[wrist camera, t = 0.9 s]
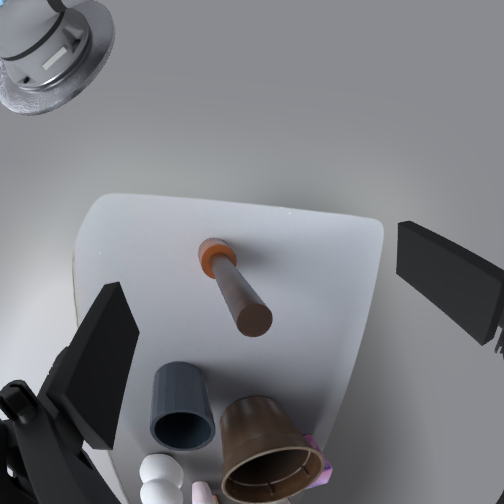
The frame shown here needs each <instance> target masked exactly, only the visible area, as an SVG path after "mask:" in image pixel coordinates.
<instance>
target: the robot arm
mask: <svg viewBox="0 0 504 504" xmlns="http://www.w3.org/2000/svg"><path fill="white" fill-rule="evenodd" d="M85 1H87V0H0V57H1V58H2V59H3V61H4V64H5V67H6V69H7V72H8V75H9V77H10V79H11V80H12V82H13V83H15V84H16V85H17V86H19V87H20V88H22V89H25V90H38V89H42V88H45V87H47V86H49V85H51V84H53V83H55V82H56V81H58V80H59V79H61V78H62V77H63V76H65V75H66V74H67V73H68V72H69V71H70V70H71V69H72V68H73V67H74V66H75V65H76V64H77V63H78V61H79V60H80V59H81V57H82V56H83V54H84V52H85V50H86V48H87V46H88V43H89V40H90V26H89V24H88V22H87V20H86V18H85V16H84V15H83V14H82V13H80V12H79V11H77V10H75V9H74V8H72V7H73V6H75V5H78V4H80V3H82V2H85ZM397 248H398V249H397V268H396V274H397V275H399V276H400V277H401V278H402V279H404V280H405V281H406V282H408V283H409V284H410V285H411V286H413V287H414V288H415V289H416V290H418V291H419V292H420V293H421V294H423V295H424V296H425V297H426V298H427V299H429V300H430V301H431V302H432V303H433V304H435V305H436V306H437V307H438V308H439V309H441V310H442V311H443V312H444V313H445V314H447V315H448V316H449V317H450V318H451V319H452V320H454V321H455V322H456V323H457V324H458V325H459V326H460V327H462V328H463V329H464V330H465V331H466V332H467V333H468V334H469V335H471V336H472V337H473V338H474V339H475V340H476V341H477V342H478V343H479V344H480V345H481V346H483V345H484V344H486V343H487V342H489V341H490V340H492V339H493V338H494V335H495V332H496V329H497V327H498V326H500V327H501V328H502V332H501V334H500V337H499V340H498V343H497V345H496V347H495V353H497V351H498V349H499V347H501V346H502V348H501V351H500V353H502V354H503V358H504V270H502V269H501V268H499V267H497V266H496V265H494V264H492V263H490V262H489V261H487V260H485V259H483V258H482V257H480V256H478V255H476V254H474V253H472V252H471V251H469V250H467V249H465V248H463V247H462V246H460V245H458V244H456V243H454V242H452V241H450V240H448V239H446V238H444V237H442V236H440V235H438V234H436V233H434V232H432V231H430V230H428V229H426V228H424V227H422V226H420V225H418V224H416V223H414V222H412V221H405V222H400V223H398V246H397ZM139 333H140V332H139V330H138V327H137V325H136V323H135V320H134V318H133V315H132V313H131V311H130V308H129V306H128V303H127V301H126V298H125V296H124V293H123V290H122V288H121V285H120V282H115V283H110V284H105V285H104V286H103V288H102V289H101V291H100V293H99V294H98V296H97V298H96V299H95V301H94V303H93V304H92V306H91V308H90V309H89V311H88V313H87V314H86V316H85V318H84V320H83V321H82V323H81V325H80V327H79V328H78V330H77V332H76V334H75V336H74V338H73V340H72V341H71V343H70V345H69V347H65V348H64V349H63V350H62V351H61V353H60V354H59V355H58V356H57V358H56V359H55V361H54V363H53V367H51V369H50V371H49V375H47V377H46V379H45V381H44V383H43V385H42V387H41V389H40V391H39V393H38V395H37V397H36V396H35V394H34V393H33V392H32V390H31V389H30V388H29V386H28V385H27V384H26V382H25V381H23V380H14V381H12V382H10V383H8V384H7V385H6V386H4V387H3V389H2V390H1V391H0V409H1V410H2V411H3V412H4V414H5V415H6V416H7V417H8V418H9V419H8V420H3V421H2V420H1V419H0V504H121V503H120V501H119V500H118V499H117V498H116V496H115V495H114V493H113V492H112V491H111V489H110V488H109V486H108V485H107V484H106V482H105V481H104V479H103V478H102V476H101V475H100V473H99V472H98V470H97V469H96V467H95V466H94V464H93V463H92V461H91V459H90V458H89V456H88V454H87V453H86V452H85V451H84V450H83V449H82V445H83V441H84V440H85V441H86V442H87V443H88V444H89V445H90V446H91V447H92V448H93V449H99V450H113V445H114V440H115V434H116V429H117V424H118V419H119V414H120V409H121V405H122V400H123V396H124V391H125V387H126V383H127V379H128V374H129V370H130V366H131V363H132V359H133V355H134V351H135V347H136V344H137V340H138V336H139ZM7 467H8V468H10V469H11V470H12V471H13V477H11V476H10V475H9V474H8V472H7ZM496 504H504V491H503V493H502V495H501V496H500V498H499V500H498V501H497V503H496Z"/></svg>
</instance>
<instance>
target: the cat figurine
mask: <svg viewBox="0 0 504 504" xmlns="http://www.w3.org/2000/svg"><path fill="white" fill-rule="evenodd" d="M183 476H184V474H183V470H182V468H181V466H180V465H179V464H178V463H177V462H176V461H175V460H174V459H173V458H172V457H171V456H168V455H166V454H152V455H148V456H147V457H146V458H145V459H144V460H143V462H142V464H141V467H140V477H141V479H142V482H143V483H144V484H143V486H142V488H141V492H140V495H141V500H142V502H143V504H183V494H182V492H181V490H180V489H179V488H180V487H181V485H182V482H183Z"/></svg>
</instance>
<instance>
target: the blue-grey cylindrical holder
mask: <svg viewBox="0 0 504 504" xmlns="http://www.w3.org/2000/svg"><path fill="white" fill-rule="evenodd" d="M150 431H151V435H152V436H153V438H154V439H155V441H157V442H158V443H159V444H160V445H162V446H164V447H166V448H168V449H171V450H177V451H192V450H197V449H200V448H202V447H204V446H206V445H207V444H209V443H210V442H211V441H212V440H213V438H214V436H215V424H214V419H213V414H212V409H211V404H210V399H209V394H208V389H207V384H206V380H205V377H204V375H203V373H202V372H201V371H200V370H199V369H198V368H197V367H195V366H194V365H192V364H189V363H185V362H171V363H168V364H165V365H164V366H162V367H161V368H160V369H158V371H157V372H156V374H155V376H154V381H153V390H152V403H151V417H150Z"/></svg>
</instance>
